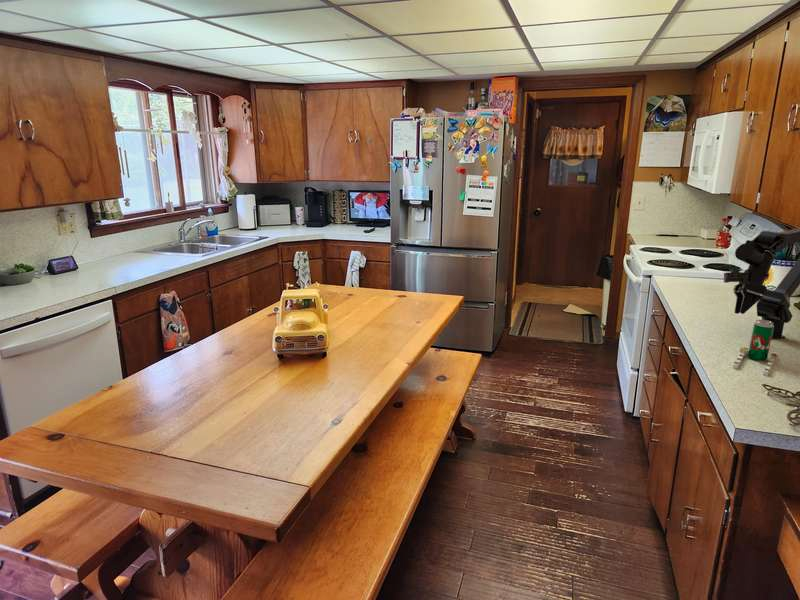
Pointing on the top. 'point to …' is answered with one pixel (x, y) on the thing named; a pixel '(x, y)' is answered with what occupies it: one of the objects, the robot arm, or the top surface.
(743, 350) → the tabs
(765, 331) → the soda can
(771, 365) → the fader track
